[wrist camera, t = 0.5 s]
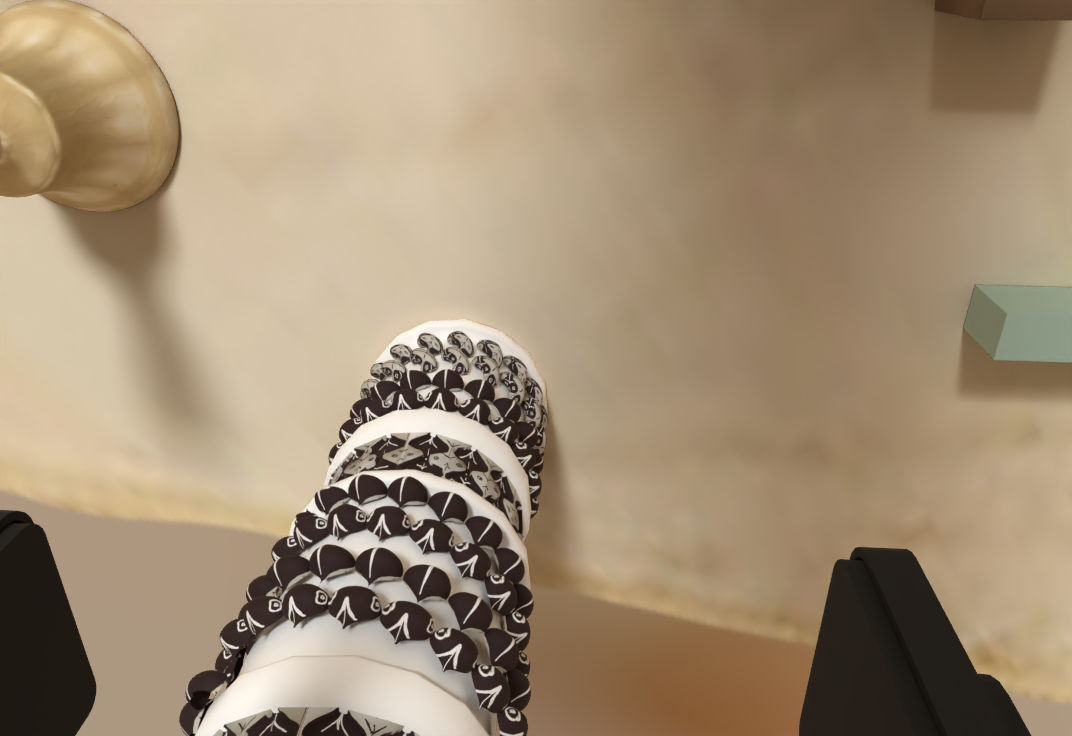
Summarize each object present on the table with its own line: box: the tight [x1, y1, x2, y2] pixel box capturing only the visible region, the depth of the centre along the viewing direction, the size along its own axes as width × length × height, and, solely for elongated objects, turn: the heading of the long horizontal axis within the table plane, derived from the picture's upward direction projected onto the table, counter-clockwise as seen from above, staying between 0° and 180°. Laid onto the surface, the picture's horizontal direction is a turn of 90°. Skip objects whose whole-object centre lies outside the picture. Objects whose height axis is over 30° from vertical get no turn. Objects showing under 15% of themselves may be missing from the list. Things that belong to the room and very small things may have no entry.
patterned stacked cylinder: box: [179, 319, 548, 736], centre depth 27 cm, size 9×9×25 cm
